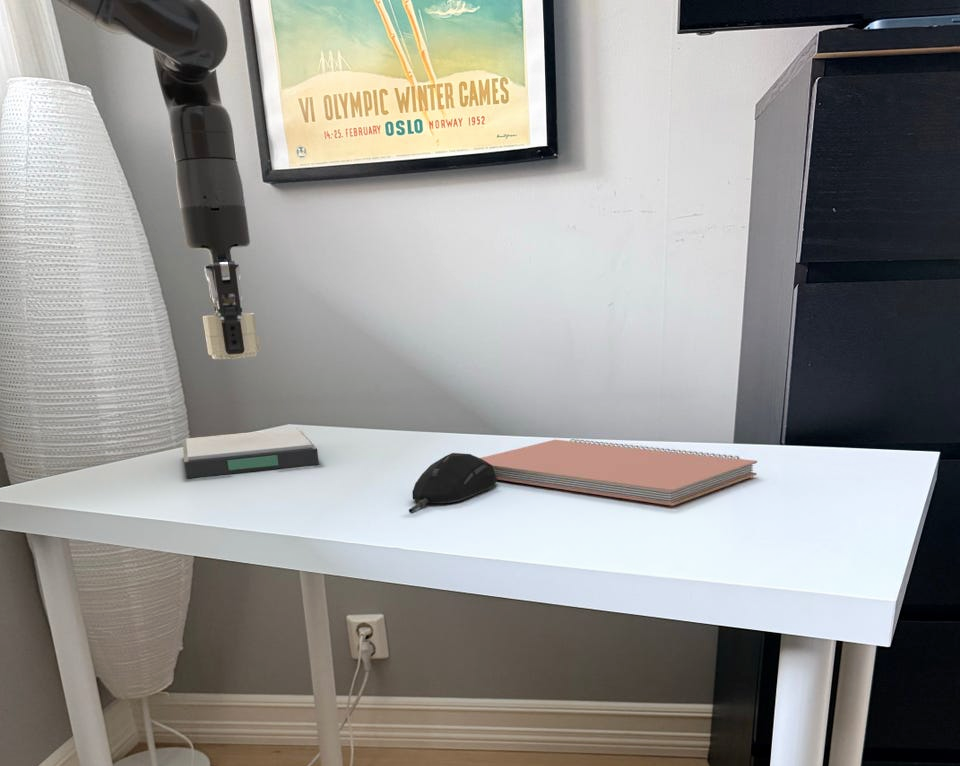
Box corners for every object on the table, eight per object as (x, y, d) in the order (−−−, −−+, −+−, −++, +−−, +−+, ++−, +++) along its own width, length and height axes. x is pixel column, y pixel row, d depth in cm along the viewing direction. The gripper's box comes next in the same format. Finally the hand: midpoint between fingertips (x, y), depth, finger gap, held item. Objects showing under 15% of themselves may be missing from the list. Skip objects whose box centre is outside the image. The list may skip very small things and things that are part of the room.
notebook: (761, 475, 98) (762, 456, 97) (672, 508, 87) (673, 487, 86) (560, 452, 116) (560, 435, 115) (466, 476, 104) (465, 459, 104)
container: (210, 360, 112) (203, 317, 111) (208, 357, 118) (202, 315, 116) (261, 356, 114) (256, 313, 112) (257, 353, 120) (252, 312, 118)
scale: (186, 479, 112) (183, 458, 111) (185, 456, 126) (181, 438, 125) (319, 464, 116) (317, 444, 115) (302, 445, 130) (300, 427, 129)
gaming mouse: (383, 510, 92) (380, 470, 90) (457, 479, 104) (455, 443, 102) (438, 515, 89) (435, 473, 87) (507, 482, 101) (506, 445, 99)
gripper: (179, 210, 115) (201, 350, 121) (180, 200, 102) (204, 358, 108) (240, 208, 117) (259, 346, 123) (249, 198, 104) (269, 353, 110)
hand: (233, 351), depth 116 cm, fingers closed on container, 6 cm apart
